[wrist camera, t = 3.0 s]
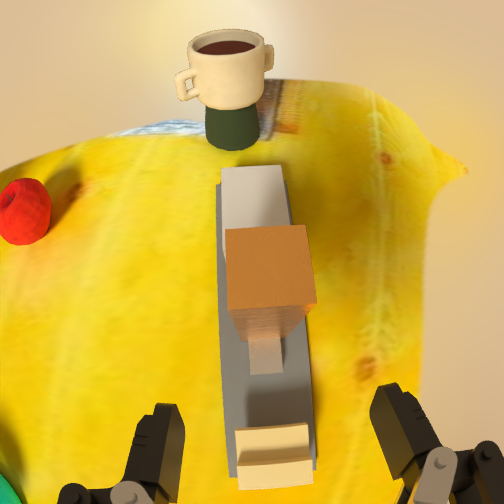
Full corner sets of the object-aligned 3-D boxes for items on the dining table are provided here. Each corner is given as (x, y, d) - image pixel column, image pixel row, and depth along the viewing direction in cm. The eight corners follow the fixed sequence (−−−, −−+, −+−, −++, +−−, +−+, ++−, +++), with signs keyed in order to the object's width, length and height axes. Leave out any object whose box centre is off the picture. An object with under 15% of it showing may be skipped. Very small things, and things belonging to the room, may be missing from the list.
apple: (75, 208, 29) (43, 171, 22) (41, 267, 26) (1, 238, 19) (41, 193, 30) (12, 160, 23) (11, 243, 27) (-24, 216, 21)
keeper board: (217, 190, 29) (211, 158, 25) (285, 186, 29) (289, 154, 25) (230, 473, 19) (224, 495, 14) (314, 466, 19) (327, 486, 14)
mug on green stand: (253, 106, 35) (253, 20, 23) (287, 136, 33) (297, 41, 21) (179, 139, 33) (156, 49, 21) (207, 175, 30) (186, 73, 18)
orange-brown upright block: (233, 190, 28) (223, 88, 17) (269, 188, 28) (276, 85, 17) (243, 375, 21) (231, 380, 10) (288, 371, 21) (324, 371, 10)
